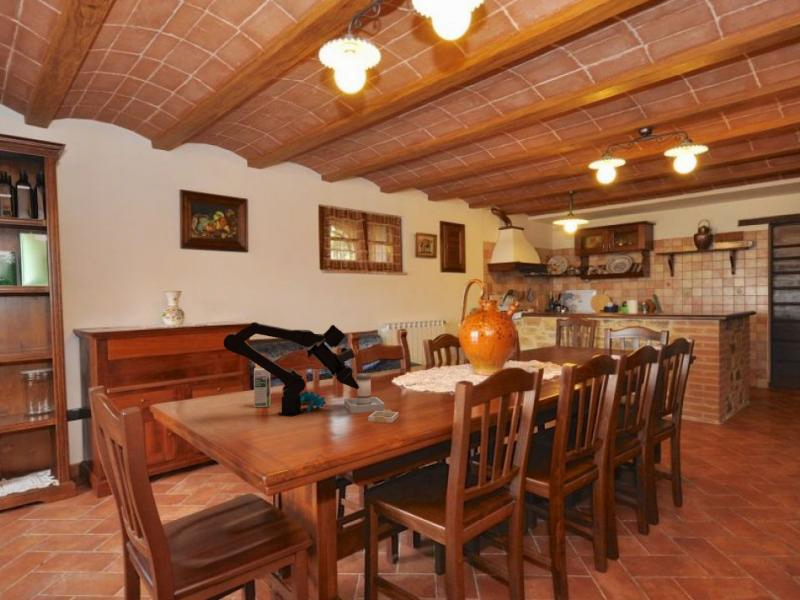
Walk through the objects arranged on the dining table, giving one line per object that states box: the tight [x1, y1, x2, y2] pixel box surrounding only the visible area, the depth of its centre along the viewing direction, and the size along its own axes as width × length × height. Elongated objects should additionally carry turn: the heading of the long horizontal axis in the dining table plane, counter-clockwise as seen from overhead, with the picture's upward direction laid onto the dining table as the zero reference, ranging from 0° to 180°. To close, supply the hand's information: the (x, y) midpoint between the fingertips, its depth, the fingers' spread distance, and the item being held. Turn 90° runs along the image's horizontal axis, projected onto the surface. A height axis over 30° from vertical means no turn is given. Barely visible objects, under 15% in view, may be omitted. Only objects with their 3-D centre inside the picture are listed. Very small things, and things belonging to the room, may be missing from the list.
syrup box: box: [253, 367, 271, 409], centre depth 179 cm, size 6×6×14 cm
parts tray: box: [343, 396, 386, 414], centre depth 174 cm, size 13×13×2 cm
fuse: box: [356, 372, 372, 405], centre depth 174 cm, size 5×5×12 cm
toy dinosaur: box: [300, 390, 326, 413], centre depth 171 cm, size 11×6×10 cm
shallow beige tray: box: [367, 409, 399, 424], centre depth 158 cm, size 8×10×2 cm
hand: (355, 386), depth 173 cm, fingers open, 9 cm apart
